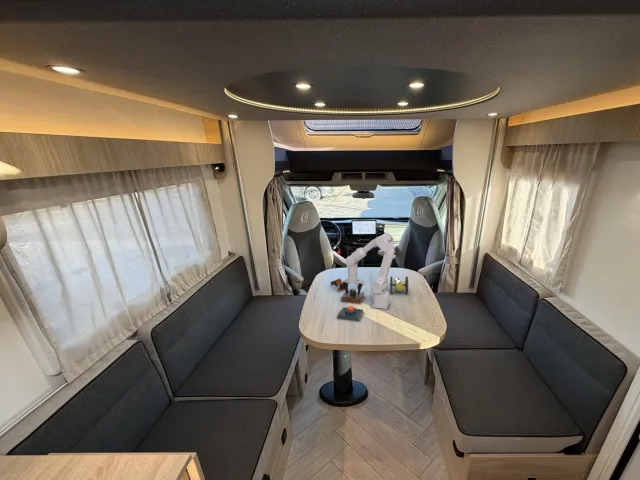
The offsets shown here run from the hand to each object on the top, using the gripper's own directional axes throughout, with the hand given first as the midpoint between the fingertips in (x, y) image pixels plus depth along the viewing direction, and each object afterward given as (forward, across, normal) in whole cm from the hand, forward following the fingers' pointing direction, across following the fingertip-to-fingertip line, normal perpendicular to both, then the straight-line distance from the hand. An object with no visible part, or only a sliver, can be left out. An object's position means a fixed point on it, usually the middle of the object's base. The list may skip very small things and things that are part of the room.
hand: (352, 294), depth 194 cm
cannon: (+4, -25, -23) cm, 34 cm away
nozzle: (0, -5, +21) cm, 22 cm away
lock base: (+4, 0, 0) cm, 4 cm away
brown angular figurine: (+4, +14, -14) cm, 20 cm away
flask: (+4, -5, +21) cm, 22 cm away
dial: (+1, 0, 0) cm, 1 cm away
